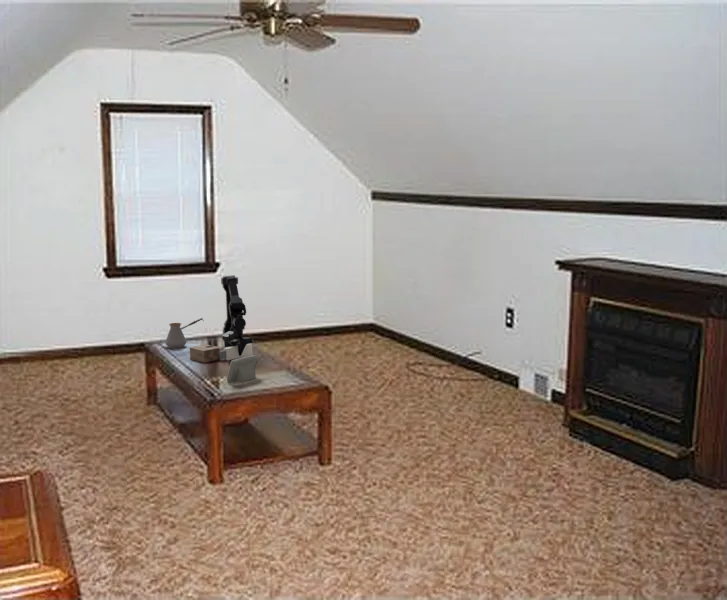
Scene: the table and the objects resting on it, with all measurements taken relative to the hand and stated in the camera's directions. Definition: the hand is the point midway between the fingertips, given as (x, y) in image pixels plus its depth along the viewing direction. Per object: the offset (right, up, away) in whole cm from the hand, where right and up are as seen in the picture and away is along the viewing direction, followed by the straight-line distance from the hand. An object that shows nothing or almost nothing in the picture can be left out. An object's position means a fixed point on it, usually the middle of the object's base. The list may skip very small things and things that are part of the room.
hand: (238, 355), depth 410 cm
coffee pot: (-33, +3, +27) cm, 43 cm away
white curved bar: (-1, -1, -1) cm, 2 cm away
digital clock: (+9, -8, -45) cm, 46 cm away
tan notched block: (-16, -2, -4) cm, 17 cm away
